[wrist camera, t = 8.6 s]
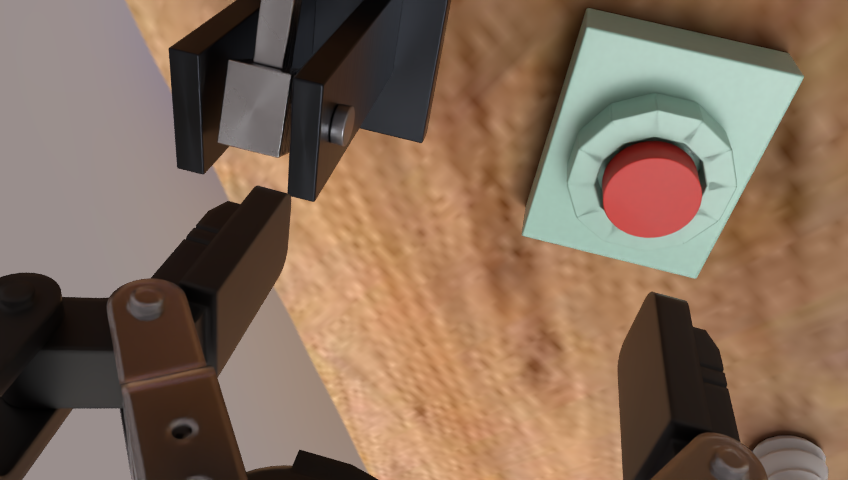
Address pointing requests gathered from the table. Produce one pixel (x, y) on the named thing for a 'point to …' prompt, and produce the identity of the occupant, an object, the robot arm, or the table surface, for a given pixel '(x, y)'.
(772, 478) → the rook chess piece
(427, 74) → the bracket
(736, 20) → the table surface
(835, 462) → the table surface
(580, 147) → the button box
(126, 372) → the robot arm
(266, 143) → the lever
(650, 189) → the button
